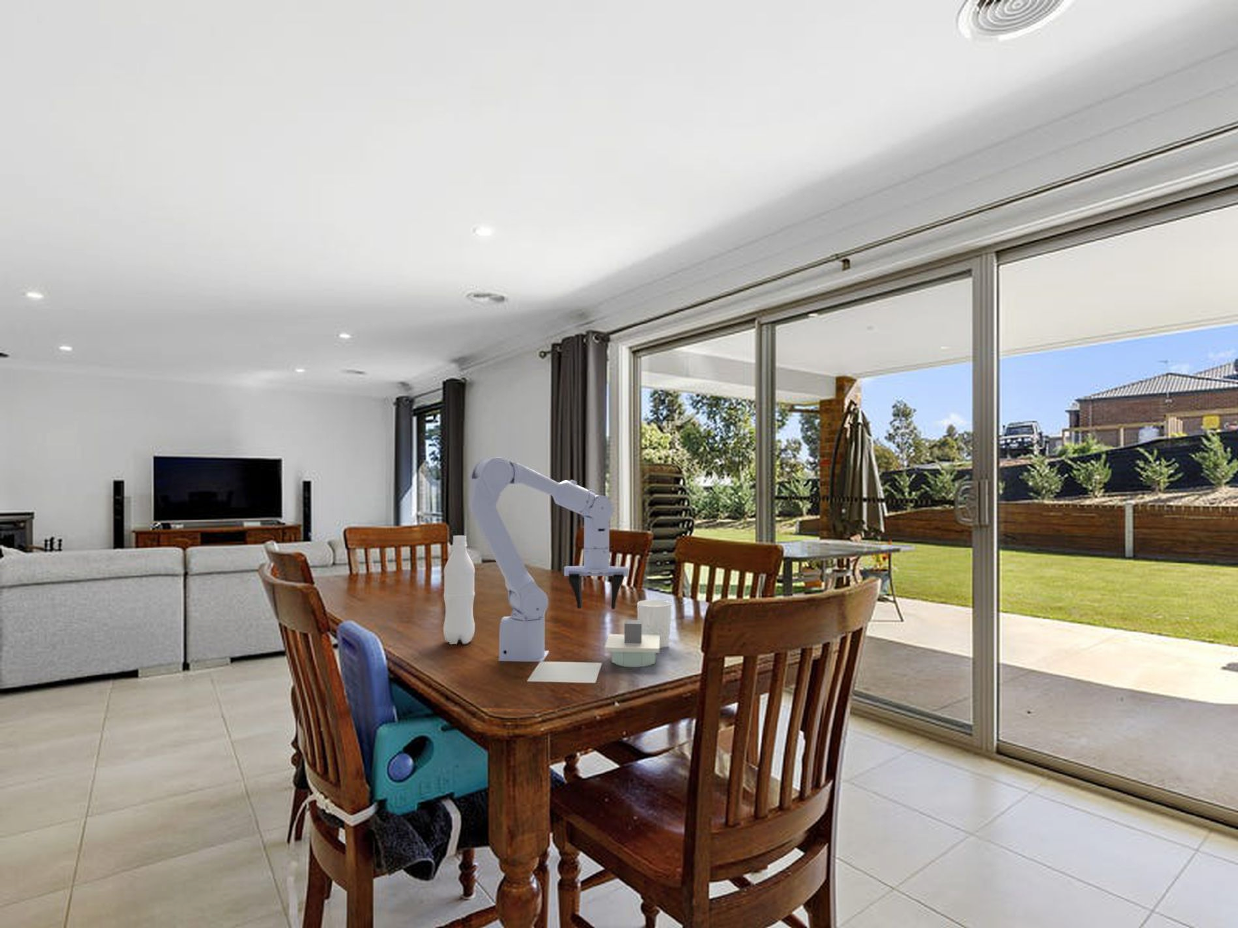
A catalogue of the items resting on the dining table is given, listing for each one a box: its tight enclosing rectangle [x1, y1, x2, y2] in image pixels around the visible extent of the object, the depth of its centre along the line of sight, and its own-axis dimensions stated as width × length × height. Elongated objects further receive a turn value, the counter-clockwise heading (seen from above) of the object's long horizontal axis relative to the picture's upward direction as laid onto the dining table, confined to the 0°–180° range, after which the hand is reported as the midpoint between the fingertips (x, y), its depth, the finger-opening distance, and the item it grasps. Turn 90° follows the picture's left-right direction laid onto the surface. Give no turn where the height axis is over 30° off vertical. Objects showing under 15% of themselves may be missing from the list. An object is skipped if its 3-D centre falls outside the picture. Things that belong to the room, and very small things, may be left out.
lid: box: [604, 619, 660, 654], centre depth 136 cm, size 11×11×5 cm
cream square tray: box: [526, 661, 603, 684], centre depth 129 cm, size 13×13×1 cm
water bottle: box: [442, 535, 476, 645], centre depth 154 cm, size 7×7×25 cm
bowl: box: [611, 652, 656, 668], centre depth 137 cm, size 9×9×4 cm
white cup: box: [636, 599, 672, 649], centre depth 150 cm, size 8×8×10 cm
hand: (596, 607), depth 147 cm, fingers open, 7 cm apart
